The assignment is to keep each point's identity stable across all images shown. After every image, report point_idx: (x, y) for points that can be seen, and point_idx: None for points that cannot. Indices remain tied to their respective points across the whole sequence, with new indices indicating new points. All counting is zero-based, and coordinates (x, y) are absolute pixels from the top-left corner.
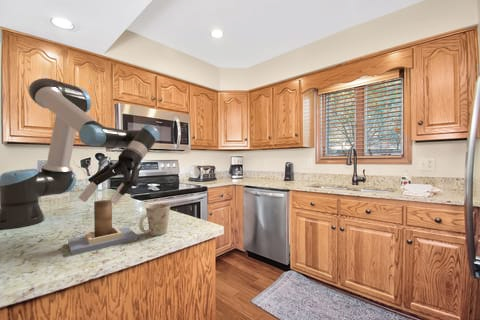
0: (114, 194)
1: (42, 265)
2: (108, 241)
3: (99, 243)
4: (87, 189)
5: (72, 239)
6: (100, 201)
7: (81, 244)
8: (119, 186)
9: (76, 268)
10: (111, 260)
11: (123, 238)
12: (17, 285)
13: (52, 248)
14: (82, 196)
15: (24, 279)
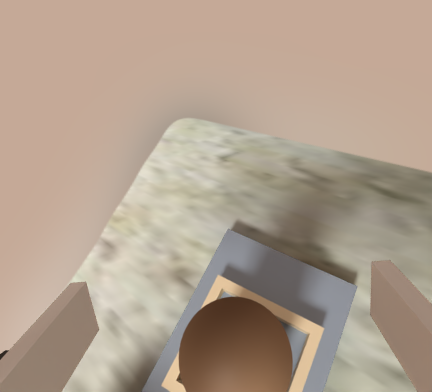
0: (51, 310)
1: (237, 179)
2: (181, 326)
3: (195, 299)
4: (415, 320)
5: (334, 289)
6: (245, 341)
7: (247, 270)
8: (3, 375)
9: (144, 200)
10: (94, 257)
11: (150, 374)
12: (188, 130)
13: (349, 244)
14: (378, 281)
15: (201, 141)
